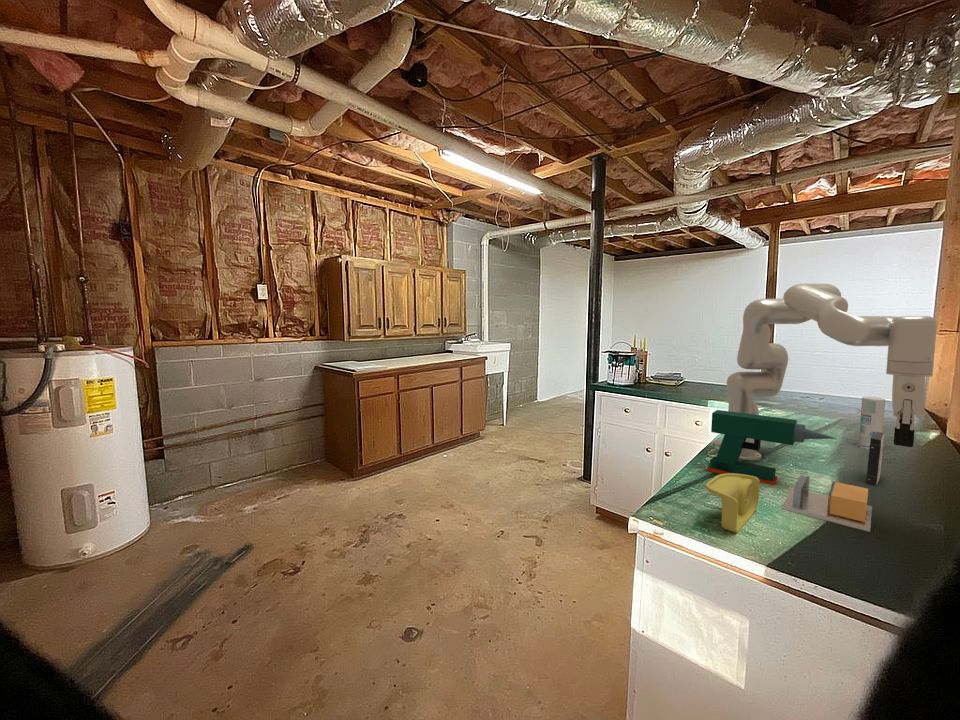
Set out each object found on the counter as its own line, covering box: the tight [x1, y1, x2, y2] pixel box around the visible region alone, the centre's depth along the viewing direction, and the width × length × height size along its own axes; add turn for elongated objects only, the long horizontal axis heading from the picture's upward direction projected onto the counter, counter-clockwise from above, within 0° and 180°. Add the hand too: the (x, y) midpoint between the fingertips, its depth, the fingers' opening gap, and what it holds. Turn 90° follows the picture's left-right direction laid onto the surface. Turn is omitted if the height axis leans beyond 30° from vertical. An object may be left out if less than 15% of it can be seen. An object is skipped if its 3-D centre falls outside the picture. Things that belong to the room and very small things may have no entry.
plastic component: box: [705, 473, 761, 534], centre depth 104 cm, size 20×7×10 cm, turn 133°
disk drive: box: [865, 432, 885, 486], centre depth 127 cm, size 10×3×15 cm, turn 133°
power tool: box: [707, 409, 838, 486], centre depth 127 cm, size 32×7×20 cm, turn 47°
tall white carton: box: [858, 396, 886, 450], centre depth 159 cm, size 6×6×20 cm
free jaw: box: [827, 481, 869, 522], centre depth 105 cm, size 7×12×5 cm, turn 135°
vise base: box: [781, 474, 873, 533], centre depth 108 cm, size 17×16×6 cm
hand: (903, 445), depth 97 cm, fingers closed
